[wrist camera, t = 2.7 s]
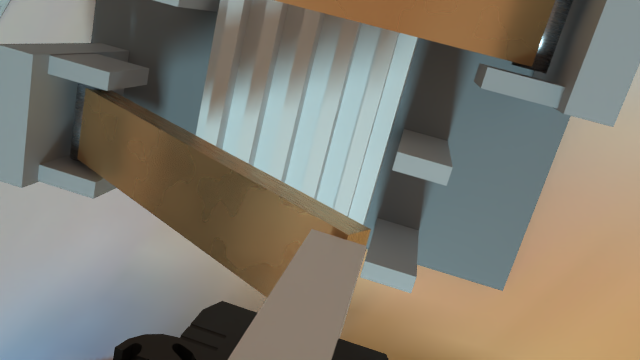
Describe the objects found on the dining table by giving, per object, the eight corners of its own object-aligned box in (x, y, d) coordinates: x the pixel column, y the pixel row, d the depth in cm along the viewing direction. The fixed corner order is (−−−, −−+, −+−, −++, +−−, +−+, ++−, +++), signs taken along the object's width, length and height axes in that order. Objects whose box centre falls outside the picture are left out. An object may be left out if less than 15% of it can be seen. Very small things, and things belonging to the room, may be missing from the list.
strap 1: (91, 152, 24) (64, 153, 23) (100, 80, 23) (72, 79, 22) (343, 327, 15) (316, 339, 14) (374, 225, 14) (346, 231, 13)
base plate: (86, 156, 29) (-25, 194, 22) (125, -159, 24) (1, -240, 17) (500, 283, 26) (526, 374, 19) (626, -44, 22) (721, -85, 15)
